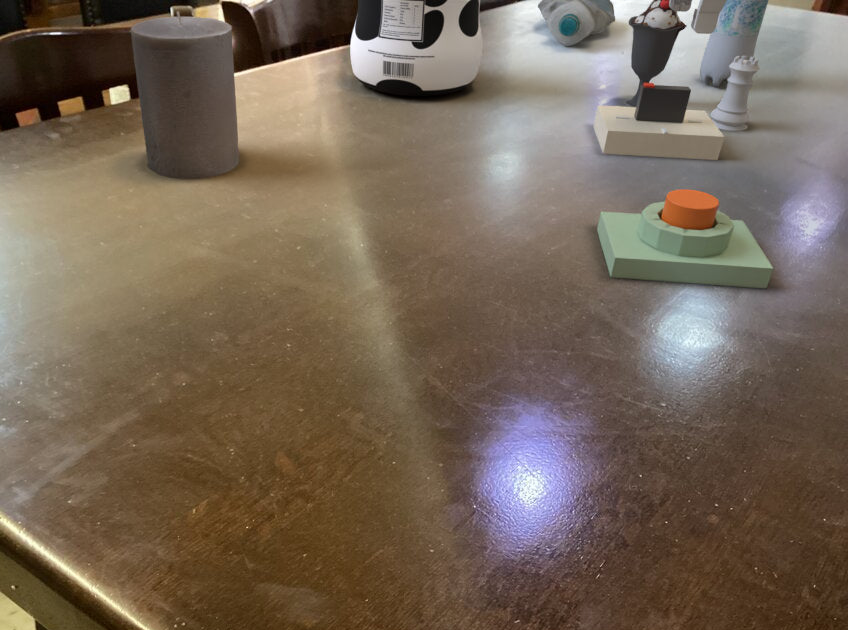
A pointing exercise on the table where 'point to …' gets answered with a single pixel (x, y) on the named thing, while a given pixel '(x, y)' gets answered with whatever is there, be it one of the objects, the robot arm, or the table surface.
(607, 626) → the table surface
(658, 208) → the button block
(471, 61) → the milk container
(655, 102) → the black plate
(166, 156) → the pillar candle
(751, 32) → the bottle
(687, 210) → the button
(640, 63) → the sundae
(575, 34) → the detergent
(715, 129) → the cream flat block
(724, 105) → the rook chess piece
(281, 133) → the table surface
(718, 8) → the robot arm
